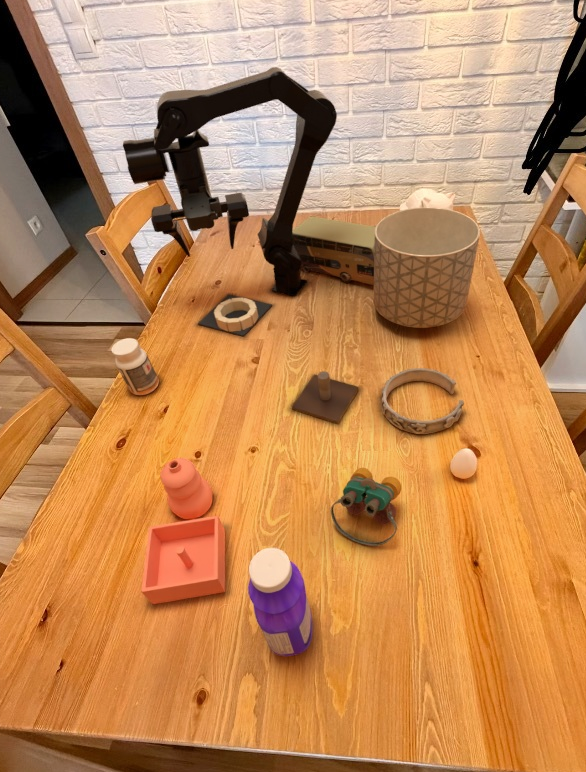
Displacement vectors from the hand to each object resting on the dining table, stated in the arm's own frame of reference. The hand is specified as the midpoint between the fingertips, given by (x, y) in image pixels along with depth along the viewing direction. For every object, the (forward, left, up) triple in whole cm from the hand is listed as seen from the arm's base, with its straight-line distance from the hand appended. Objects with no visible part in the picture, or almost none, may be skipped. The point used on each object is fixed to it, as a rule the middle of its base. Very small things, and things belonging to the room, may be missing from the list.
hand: (210, 251), depth 98 cm
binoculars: (+39, +52, -12) cm, 66 cm away
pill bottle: (+30, +2, -12) cm, 32 cm away
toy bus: (-21, +21, -12) cm, 32 cm away
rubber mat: (+4, +6, -12) cm, 14 cm away
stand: (+20, +36, -12) cm, 43 cm away
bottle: (+57, +49, -12) cm, 76 cm away
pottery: (+52, +30, -12) cm, 61 cm away
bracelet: (+15, +52, -12) cm, 55 cm away
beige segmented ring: (+5, +8, -12) cm, 15 cm away
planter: (-11, +43, -12) cm, 46 cm away
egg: (+26, +62, -12) cm, 68 cm away
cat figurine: (-36, +36, -12) cm, 52 cm away
